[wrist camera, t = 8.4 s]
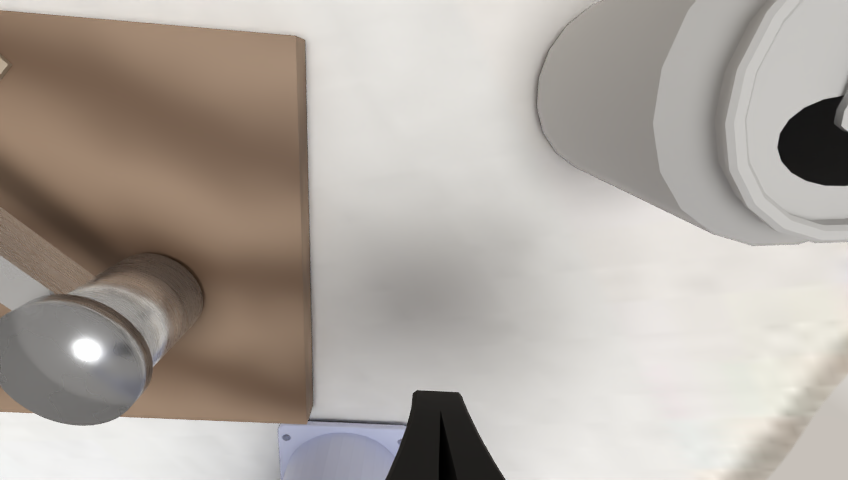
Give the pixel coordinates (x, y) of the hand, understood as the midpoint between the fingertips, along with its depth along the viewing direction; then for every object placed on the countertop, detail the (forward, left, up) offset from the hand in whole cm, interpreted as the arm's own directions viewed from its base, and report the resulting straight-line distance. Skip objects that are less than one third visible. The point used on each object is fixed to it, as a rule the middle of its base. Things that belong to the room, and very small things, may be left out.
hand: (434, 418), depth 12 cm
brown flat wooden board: (+1, +16, -10) cm, 19 cm away
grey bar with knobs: (+2, +17, -9) cm, 19 cm away
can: (+10, -8, -11) cm, 16 cm away
